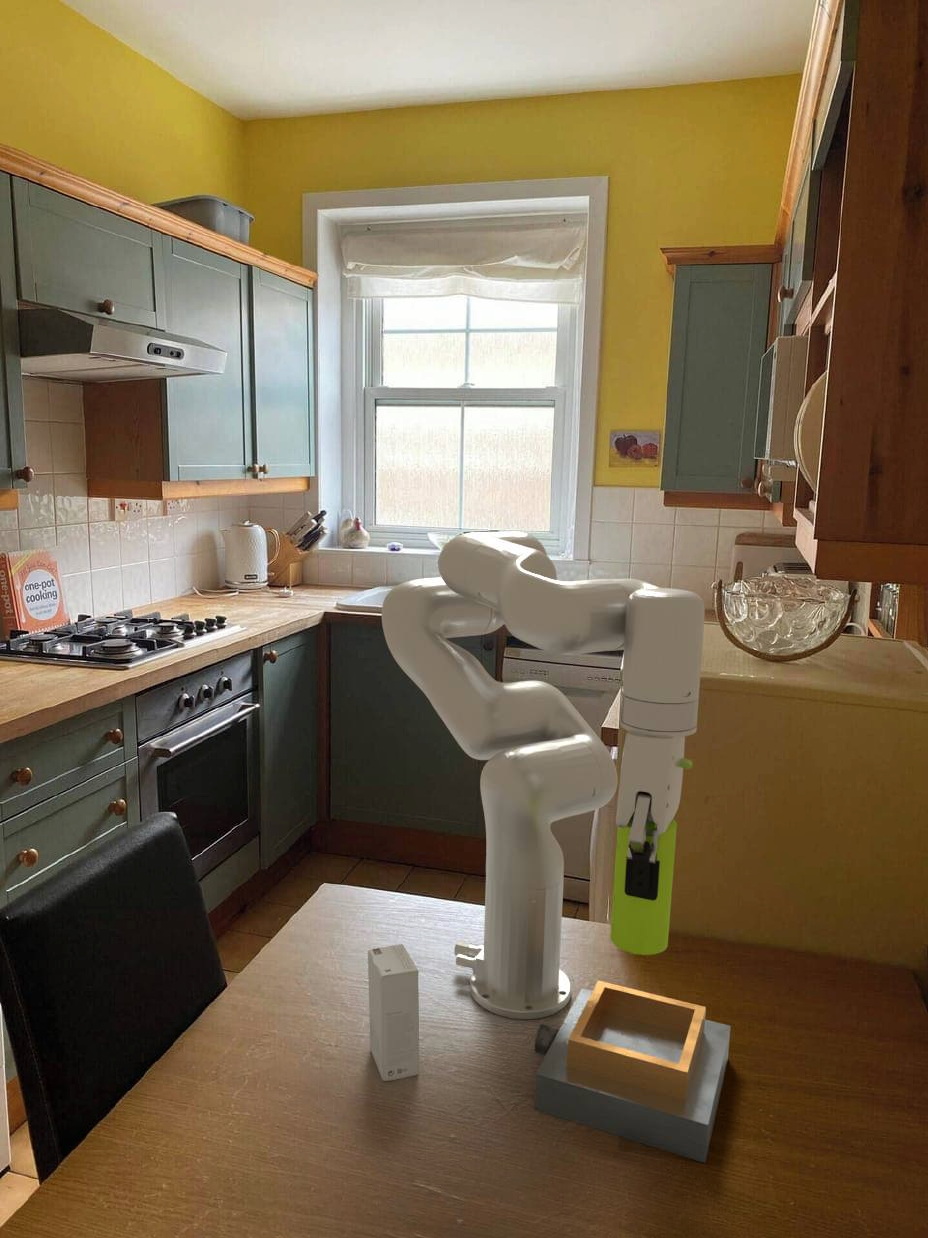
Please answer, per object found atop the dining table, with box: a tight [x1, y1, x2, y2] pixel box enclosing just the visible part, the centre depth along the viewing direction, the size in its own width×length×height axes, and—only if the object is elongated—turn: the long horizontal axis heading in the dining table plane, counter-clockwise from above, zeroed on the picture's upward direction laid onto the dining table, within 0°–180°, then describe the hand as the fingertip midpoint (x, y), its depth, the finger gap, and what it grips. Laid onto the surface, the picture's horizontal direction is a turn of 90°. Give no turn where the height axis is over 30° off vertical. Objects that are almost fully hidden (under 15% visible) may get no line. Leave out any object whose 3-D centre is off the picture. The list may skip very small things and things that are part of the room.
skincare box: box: [367, 943, 420, 1082], centre depth 96 cm, size 6×4×12 cm
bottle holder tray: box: [533, 980, 731, 1164], centre depth 95 cm, size 19×17×7 cm
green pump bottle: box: [609, 757, 694, 956], centre depth 91 cm, size 6×7×20 cm
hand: (647, 881), depth 91 cm, fingers closed on green pump bottle, 5 cm apart
